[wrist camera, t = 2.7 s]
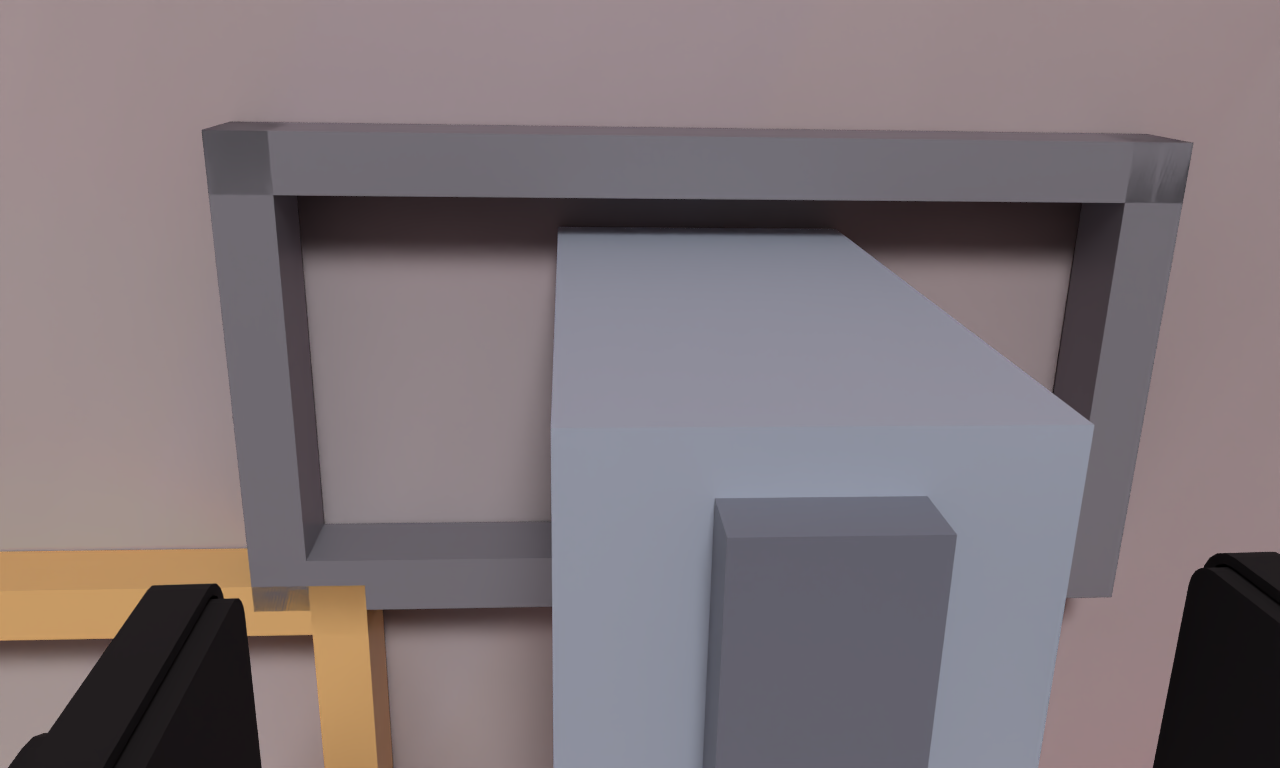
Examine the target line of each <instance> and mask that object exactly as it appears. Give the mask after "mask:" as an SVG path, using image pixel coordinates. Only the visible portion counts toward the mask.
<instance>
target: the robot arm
mask: <svg viewBox="0 0 1280 768" xmlns="http://www.w3.org/2000/svg"><path fill="white" fill-rule="evenodd" d="M8 768H261V758H260V749H259V740H258V730H257V721H256V712H255V703H254V693H253V684H252V675H251V665H250V656H249V647H248V638H247V628H246V619H245V612H244V607H243V604H242V601H241V600H240V599H239V598H229V599H224V596H223V593H222V590H221V588H220V586H219V585H218V584H217V583H213V584H179V585H153V586H151V587H150V588H149V589H148V590H147V591H146V593H145V594H144V595H143V597H142V598H141V600H140V601H139V603H138V604H137V606H136V607H135V608H134V610H133V611H132V613H131V614H130V616H129V617H128V619H127V620H126V621H125V623H124V624H123V626H122V627H121V629H120V630H119V631H118V633H117V634H116V636H115V637H114V639H113V640H112V642H111V643H110V644H109V646H108V647H107V649H106V650H105V652H104V653H103V654H102V656H101V657H100V659H99V660H98V662H97V663H96V665H95V666H94V667H93V669H92V670H91V672H90V673H89V675H88V676H87V677H86V679H85V680H84V682H83V683H82V685H81V686H80V688H79V689H78V690H77V692H76V693H75V695H74V696H73V698H72V699H71V700H70V702H69V703H68V705H67V706H66V708H65V709H64V711H63V712H62V713H61V715H60V716H59V718H58V719H57V721H56V722H55V723H54V725H53V726H52V728H51V729H50V731H49V732H48V733H43V734H40V735H37V736H35V737H33V738H32V739H31V740H30V741H29V742H28V743H27V744H26V745H25V746H24V747H23V748H22V749H21V751H20V752H19V753H18V755H17V756H16V757H15V759H14V760H13V762H12V763H11V764H10V766H9V767H8ZM1153 768H1280V554H1278V553H1276V552H1250V553H1217V554H1215V555H1214V556H1212V557H1210V558H1209V560H1208V561H1207V562H1206V564H1205V565H1204V568H1200V569H1198V570H1197V571H1195V572H1194V574H1193V575H1192V577H1191V579H1190V583H1189V586H1188V591H1187V596H1186V602H1185V607H1184V612H1183V617H1182V622H1181V627H1180V632H1179V637H1178V642H1177V647H1176V653H1175V658H1174V663H1173V668H1172V673H1171V678H1170V683H1169V688H1168V693H1167V698H1166V704H1165V709H1164V714H1163V719H1162V724H1161V729H1160V734H1159V739H1158V744H1157V749H1156V755H1155V760H1154V765H1153Z"/></svg>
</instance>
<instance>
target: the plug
mask: <svg viewBox="0 0 1280 768" xmlns="http://www.w3.org/2000/svg"><path fill="white" fill-rule="evenodd" d="M1093 431H1094V424H1093V423H1091V422H1090V421H1089V420H1087V419H1086V418H1085V417H1083V416H1082V415H1081V414H1079V413H1078V412H1077V411H1075V410H1074V409H1073V408H1071V407H1070V406H1069V405H1067V404H1066V403H1065V402H1064V401H1062V400H1061V399H1060V398H1058V397H1057V396H1056V395H1054V394H1053V393H1052V392H1050V391H1049V390H1048V389H1046V388H1045V387H1044V386H1042V385H1041V384H1040V383H1038V382H1037V381H1036V380H1034V379H1033V378H1032V377H1031V376H1029V375H1028V374H1027V373H1025V372H1024V371H1023V370H1021V369H1020V368H1019V367H1017V366H1016V365H1015V364H1013V363H1012V362H1011V361H1009V360H1008V359H1007V358H1005V357H1004V356H1003V355H1001V354H1000V353H999V352H998V351H996V350H995V349H994V348H992V347H991V346H990V345H988V344H987V343H986V342H984V341H983V340H982V339H980V338H979V337H978V336H976V335H975V334H974V333H972V332H971V331H970V330H968V329H967V328H966V327H964V326H963V325H962V324H961V323H959V322H958V321H957V320H955V319H954V318H953V317H951V316H950V315H949V314H947V313H946V312H945V311H943V310H942V309H941V308H939V307H938V306H937V305H935V304H934V303H933V302H931V301H930V300H929V299H928V298H926V297H925V296H924V295H922V294H921V293H920V292H918V291H917V290H916V289H914V288H913V287H912V286H910V285H909V284H908V283H906V282H905V281H904V280H902V279H901V278H900V277H898V276H897V275H896V274H895V273H893V272H892V271H891V270H889V269H888V268H887V267H885V266H884V265H883V264H881V263H880V262H879V261H877V260H876V259H875V258H873V257H872V256H871V255H869V254H868V253H867V252H865V251H864V250H863V249H861V248H860V247H859V246H858V245H856V244H855V243H854V242H852V241H851V240H850V239H848V238H847V237H846V236H844V235H843V234H842V233H840V232H839V231H838V230H836V229H798V228H655V227H558V245H557V272H556V299H555V327H554V354H553V381H552V409H551V516H552V638H553V760H554V768H1038V765H1039V759H1040V753H1041V747H1042V741H1043V734H1044V728H1045V722H1046V716H1047V710H1048V704H1049V698H1050V692H1051V686H1052V680H1053V674H1054V668H1055V662H1056V656H1057V650H1058V644H1059V637H1060V631H1061V625H1062V619H1063V613H1064V607H1065V601H1066V595H1067V589H1068V583H1069V577H1070V571H1071V565H1072V559H1073V553H1074V547H1075V540H1076V534H1077V528H1078V522H1079V516H1080V510H1081V504H1082V498H1083V492H1084V486H1085V480H1086V474H1087V468H1088V462H1089V456H1090V450H1091V443H1092V437H1093Z"/></svg>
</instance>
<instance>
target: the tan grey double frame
mask: <svg viewBox="0 0 1280 768" xmlns="http://www.w3.org/2000/svg"><path fill="white" fill-rule="evenodd" d="M202 138H203V148H204V157H205V166H206V175H207V184H208V193H209V203H210V212H211V221H212V230H213V239H214V248H215V258H216V267H217V276H218V285H219V294H220V303H221V313H222V322H223V331H224V340H225V349H226V358H227V368H228V377H229V386H230V395H231V404H232V413H233V423H234V432H235V441H236V450H237V459H238V468H239V478H240V487H241V496H242V505H243V514H244V523H245V533H246V542H247V549H177V550H100V551H22V552H0V641H4V640H58V639H113V638H114V637H115V636H116V634H117V633H118V631H119V630H120V629H121V627H122V626H123V624H124V623H125V621H126V620H127V619H128V617H129V616H130V614H131V613H132V611H133V610H134V608H135V607H136V606H137V604H138V603H139V601H140V600H141V598H142V597H143V595H144V594H145V593H146V591H147V590H148V589H149V588H150V587H151V586H153V585H179V584H213V583H217V584H218V585H219V586H220V588H221V590H222V593H223V596H224V599H229V598H239V599H240V600H241V601H242V604H243V607H244V612H245V619H246V628H247V636H276V635H313V644H314V655H315V666H316V677H317V688H318V699H319V710H320V721H321V733H322V744H323V755H324V766H325V768H393V758H392V743H391V728H390V713H389V697H388V682H387V667H386V652H385V636H384V621H383V610H384V609H443V608H503V607H552V521H551V522H464V523H377V524H324V516H323V504H322V492H321V480H320V468H319V456H318V444H317V432H316V420H315V408H314V396H313V384H312V371H311V359H310V347H309V335H308V323H307V311H306V299H305V287H304V275H303V263H302V251H301V239H300V227H299V215H298V203H297V195H304V196H415V197H526V198H636V199H747V200H858V201H969V202H1080V203H1082V207H1081V214H1080V220H1079V227H1078V234H1077V240H1076V247H1075V254H1074V260H1073V267H1072V274H1071V280H1070V287H1069V293H1068V300H1067V307H1066V313H1065V320H1064V327H1063V333H1062V340H1061V347H1060V353H1059V360H1058V367H1057V373H1056V380H1055V386H1054V393H1053V394H1054V395H1056V396H1057V397H1058V398H1060V399H1061V400H1062V401H1064V402H1065V403H1066V404H1067V405H1069V406H1070V407H1071V408H1073V409H1074V410H1075V411H1077V412H1078V413H1079V414H1081V415H1082V416H1083V417H1085V418H1086V419H1087V420H1089V421H1090V422H1091V423H1093V424H1094V431H1093V437H1092V443H1091V450H1090V456H1089V462H1088V468H1087V474H1086V480H1085V486H1084V492H1083V498H1082V504H1081V510H1080V516H1079V522H1078V528H1077V534H1076V540H1075V547H1074V553H1073V559H1072V565H1071V571H1070V577H1069V583H1068V589H1067V595H1066V598H1096V597H1112V592H1113V586H1114V580H1115V575H1116V569H1117V564H1118V558H1119V553H1120V547H1121V542H1122V536H1123V531H1124V525H1125V519H1126V514H1127V508H1128V503H1129V497H1130V492H1131V486H1132V481H1133V475H1134V470H1135V464H1136V458H1137V453H1138V447H1139V442H1140V436H1141V431H1142V425H1143V420H1144V414H1145V409H1146V403H1147V397H1148V392H1149V386H1150V381H1151V375H1152V370H1153V364H1154V359H1155V353H1156V348H1157V342H1158V337H1159V331H1160V325H1161V320H1162V314H1163V309H1164V303H1165V298H1166V292H1167V287H1168V281H1169V276H1170V270H1171V264H1172V259H1173V253H1174V248H1175V242H1176V237H1177V231H1178V226H1179V220H1180V215H1181V209H1182V203H1183V198H1184V192H1185V187H1186V181H1187V176H1188V170H1189V165H1190V159H1191V154H1192V148H1193V143H1191V142H1186V141H1181V140H1176V139H1170V138H1165V137H1160V136H1154V135H1149V134H1105V133H1031V132H958V131H884V130H810V129H737V128H663V127H589V126H516V125H442V124H368V123H294V122H227V123H224V124H220V125H217V126H214V127H210V128H207V129H203V130H202Z"/></svg>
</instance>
